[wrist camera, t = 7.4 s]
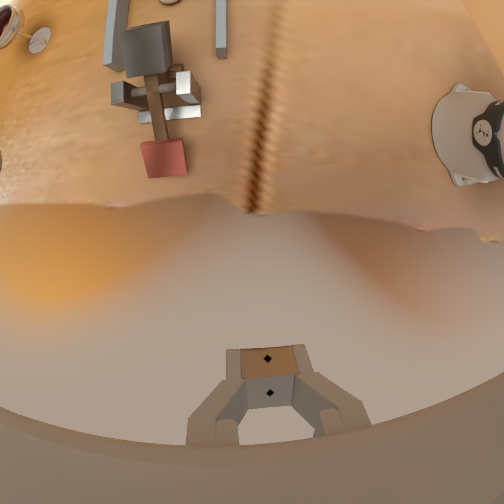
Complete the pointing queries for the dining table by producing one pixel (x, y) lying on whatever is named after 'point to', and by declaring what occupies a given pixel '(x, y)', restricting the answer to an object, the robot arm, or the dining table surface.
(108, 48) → the grey u-shaped bracket
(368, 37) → the dining table surface
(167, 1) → the ball
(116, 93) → the stand
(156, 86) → the lever
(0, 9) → the wineglass
